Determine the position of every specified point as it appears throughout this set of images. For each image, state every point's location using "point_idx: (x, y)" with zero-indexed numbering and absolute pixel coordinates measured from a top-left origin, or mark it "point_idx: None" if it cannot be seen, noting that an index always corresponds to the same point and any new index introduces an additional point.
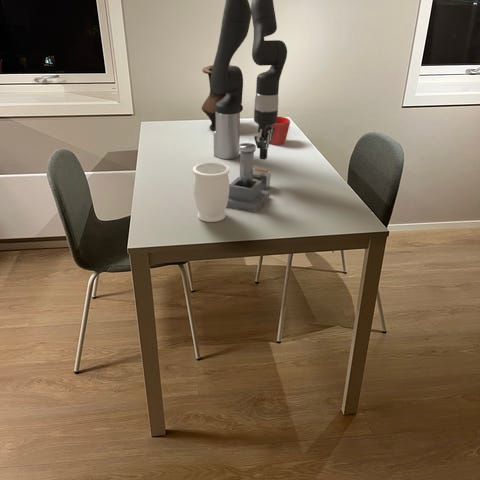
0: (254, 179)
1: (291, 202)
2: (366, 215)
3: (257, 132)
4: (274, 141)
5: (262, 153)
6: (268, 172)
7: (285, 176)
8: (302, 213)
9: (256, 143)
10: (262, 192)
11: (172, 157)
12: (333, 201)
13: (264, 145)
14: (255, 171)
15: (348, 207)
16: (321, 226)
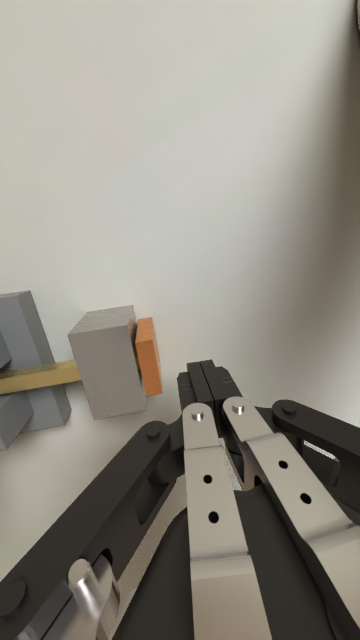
0: (66, 373)
1: (83, 467)
2: (129, 585)
3: (192, 584)
4: None
5: (181, 407)
6: (141, 404)
7: (260, 369)
8: (40, 512)
9: (87, 493)
10: (38, 412)
11: None
12: (157, 525)
13: (154, 500)
14: (116, 356)
15: (145, 554)
16: (10, 562)
